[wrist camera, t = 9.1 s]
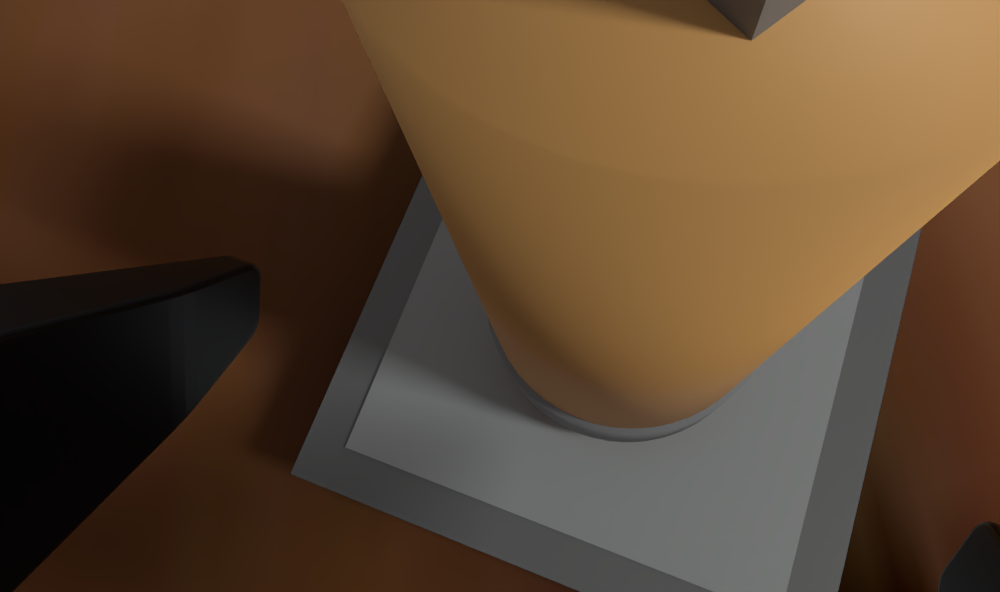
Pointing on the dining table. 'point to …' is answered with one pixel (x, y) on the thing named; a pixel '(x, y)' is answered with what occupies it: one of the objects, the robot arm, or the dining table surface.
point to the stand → (604, 441)
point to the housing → (679, 174)
